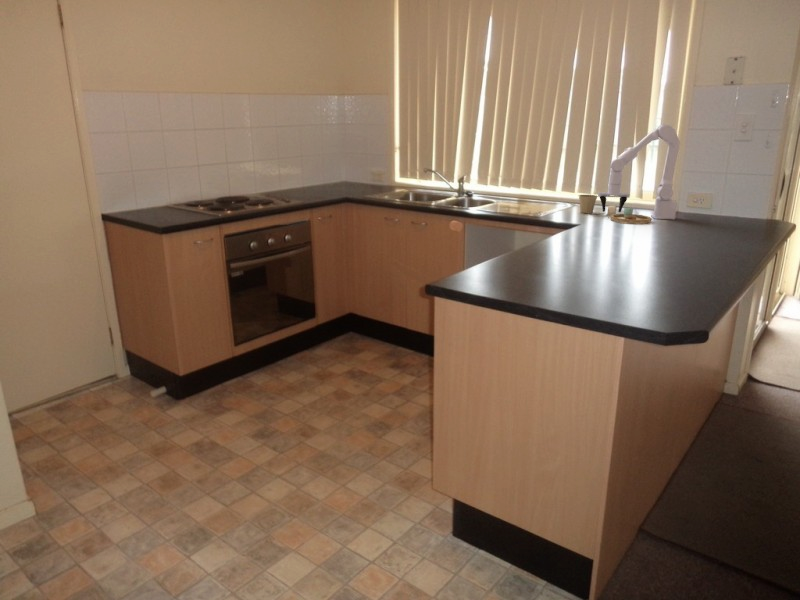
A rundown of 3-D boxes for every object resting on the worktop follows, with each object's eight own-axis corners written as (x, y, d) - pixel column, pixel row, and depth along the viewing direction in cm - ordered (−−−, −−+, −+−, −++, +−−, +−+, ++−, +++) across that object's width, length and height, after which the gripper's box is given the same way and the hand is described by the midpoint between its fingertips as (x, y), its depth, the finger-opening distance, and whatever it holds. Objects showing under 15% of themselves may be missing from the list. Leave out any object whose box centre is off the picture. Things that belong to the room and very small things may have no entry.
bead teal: (630, 217, 291) (632, 207, 290) (632, 218, 288) (634, 209, 286) (622, 216, 292) (623, 207, 291) (624, 218, 288) (625, 208, 287)
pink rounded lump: (463, 229, 256) (458, 228, 260) (462, 220, 254) (456, 219, 258) (455, 232, 254) (450, 230, 258) (454, 223, 253) (448, 222, 257)
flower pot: (573, 211, 310) (574, 194, 307) (588, 210, 313) (590, 194, 310) (583, 214, 301) (585, 197, 299) (599, 213, 304) (601, 196, 302)
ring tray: (645, 218, 292) (645, 213, 292) (654, 224, 275) (655, 219, 275) (606, 216, 295) (607, 212, 294) (614, 223, 278) (614, 218, 277)
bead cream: (614, 215, 301) (615, 206, 299) (616, 216, 297) (617, 207, 296) (606, 214, 301) (607, 205, 300) (607, 216, 297) (608, 207, 296)
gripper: (628, 183, 297) (624, 210, 301) (598, 182, 299) (595, 209, 303) (631, 185, 291) (628, 213, 295) (600, 184, 292) (597, 212, 296)
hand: (611, 211), depth 298 cm, fingers open, 7 cm apart
